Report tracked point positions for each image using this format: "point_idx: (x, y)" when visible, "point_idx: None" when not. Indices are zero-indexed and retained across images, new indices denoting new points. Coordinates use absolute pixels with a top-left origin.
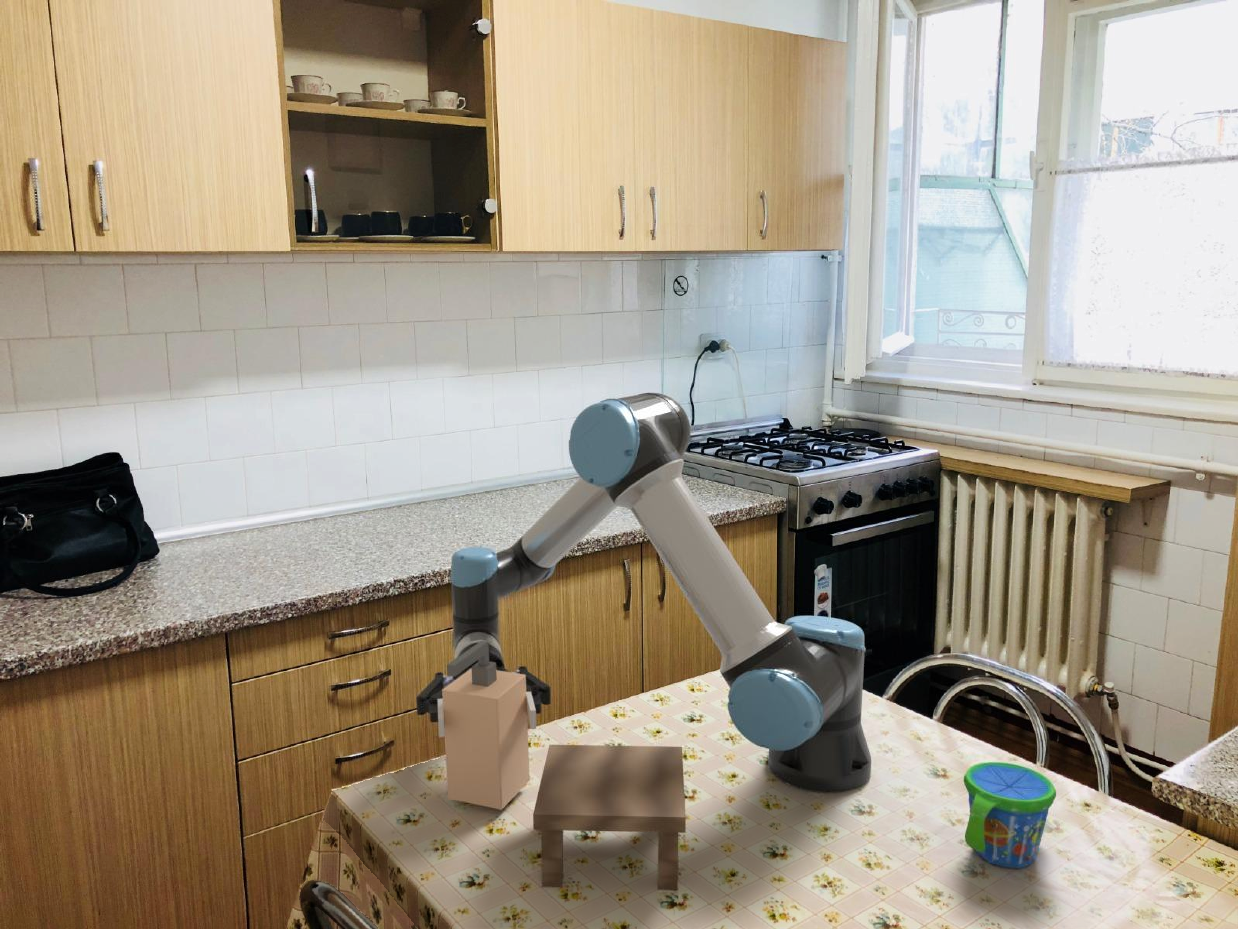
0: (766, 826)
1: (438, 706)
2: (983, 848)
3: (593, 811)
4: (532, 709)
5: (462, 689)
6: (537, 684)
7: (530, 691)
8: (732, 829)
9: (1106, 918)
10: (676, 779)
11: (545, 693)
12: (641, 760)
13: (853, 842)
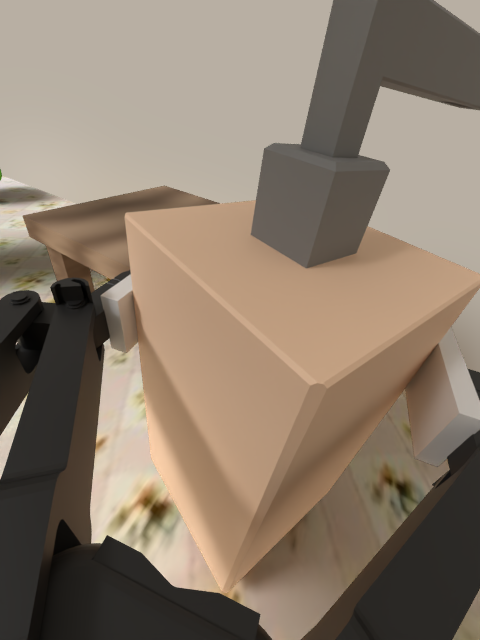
0: (19, 263)
1: (462, 359)
2: (1, 174)
3: None
4: None
5: (396, 247)
6: (53, 285)
7: (102, 295)
8: (47, 273)
9: (13, 180)
10: (112, 199)
11: (45, 304)
12: (101, 221)
13: (3, 232)
